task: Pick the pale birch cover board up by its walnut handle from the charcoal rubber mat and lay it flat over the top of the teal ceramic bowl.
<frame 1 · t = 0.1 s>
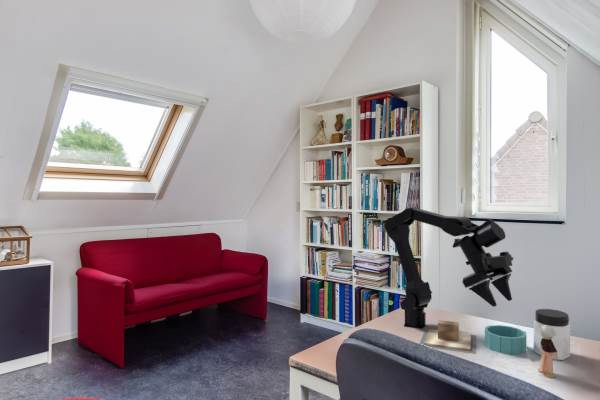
hand: (502, 303, 116), 15 cm above the table, tool tilted 30°, fingers open, 9 cm apart
mat: (448, 341, 126), on the table
bowl: (505, 347, 121), on the table
jar: (551, 354, 116), on the table
grandmother figurine: (547, 375, 103), on the table
cover board: (448, 340, 126), resting on mat
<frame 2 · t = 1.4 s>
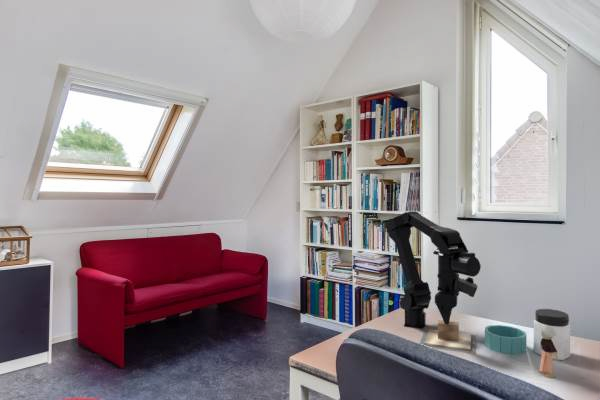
hand: (447, 319, 126), 7 cm above the table, tool pointing down, fingers open, 9 cm apart
nothing on the table moved.
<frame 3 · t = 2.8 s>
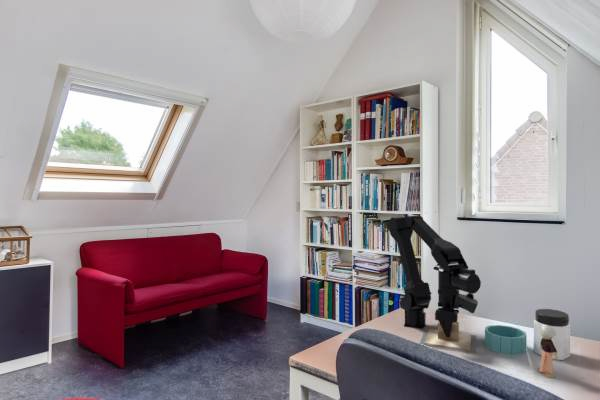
hand: (448, 335, 126), 2 cm above the table, tool pointing down, fingers closed on cover board, 3 cm apart
cover board: (448, 340, 126), resting on mat, touching gripper
everything else where it was.
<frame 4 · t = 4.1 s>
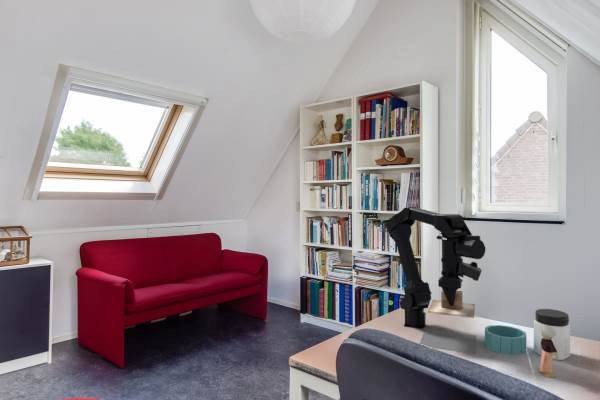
hand: (451, 304, 126), 12 cm above the table, tool pointing down, fingers closed on cover board, 3 cm apart
cover board: (452, 309, 126), point 10 cm above the table, touching gripper
everything else where it was.
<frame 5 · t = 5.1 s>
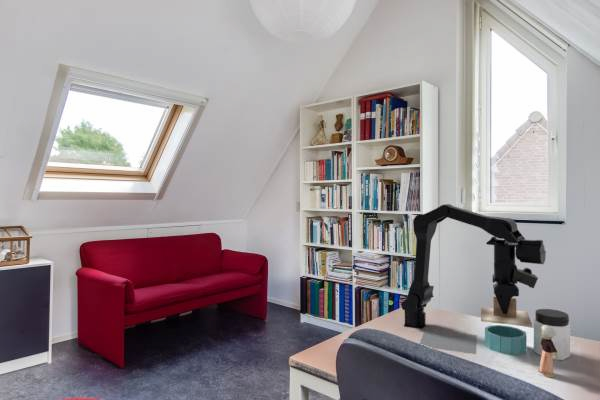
hand: (504, 312, 120), 11 cm above the table, tool pointing down, fingers closed on cover board, 3 cm apart
cover board: (504, 317, 120), point 9 cm above the table, touching gripper
everything else where it was.
when the fingers open (8 cm above the table, at t = 5.9 s): cover board drops 1 cm, resting on bowl.
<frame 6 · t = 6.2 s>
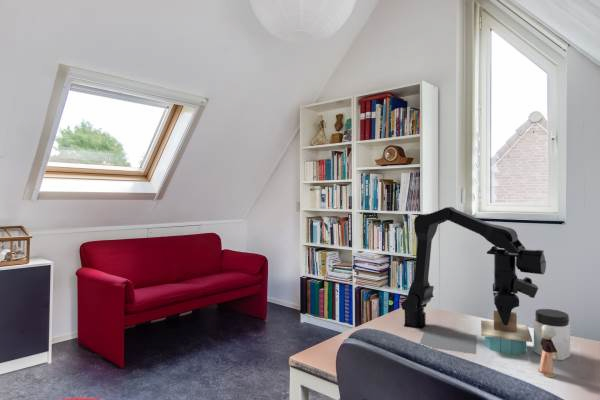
hand: (504, 321, 120), 8 cm above the table, tool pointing down, fingers open, 6 cm apart
cover board: (504, 331, 121), point 5 cm above the table, touching bowl
everything else where it was.
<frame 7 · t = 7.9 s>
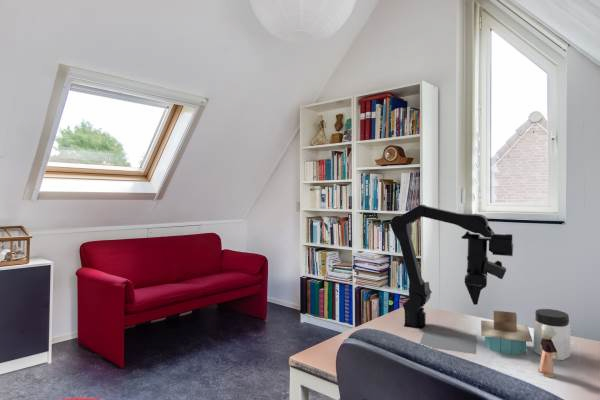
hand: (475, 300, 131), 11 cm above the table, tool pointing down, fingers open, 9 cm apart
nothing on the table moved.
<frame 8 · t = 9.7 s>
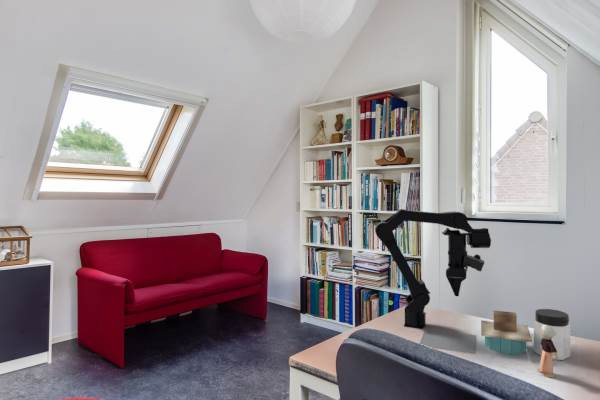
hand: (457, 292, 139), 12 cm above the table, tool pointing down, fingers open, 9 cm apart
nothing on the table moved.
at the end: cover board 0.0 cm off-centre on the bowl, point 5.0 cm above the bowl's base; cover board tilted 0°; the gripper is holding nothing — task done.
